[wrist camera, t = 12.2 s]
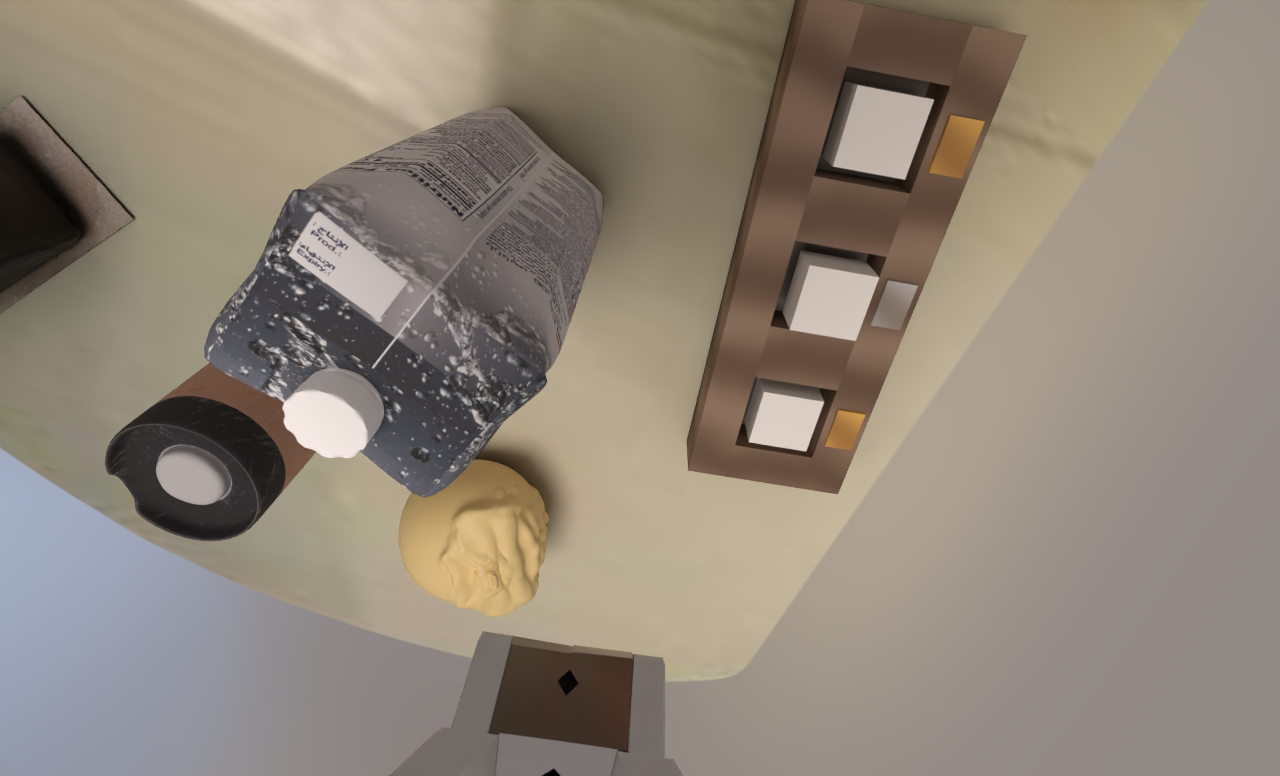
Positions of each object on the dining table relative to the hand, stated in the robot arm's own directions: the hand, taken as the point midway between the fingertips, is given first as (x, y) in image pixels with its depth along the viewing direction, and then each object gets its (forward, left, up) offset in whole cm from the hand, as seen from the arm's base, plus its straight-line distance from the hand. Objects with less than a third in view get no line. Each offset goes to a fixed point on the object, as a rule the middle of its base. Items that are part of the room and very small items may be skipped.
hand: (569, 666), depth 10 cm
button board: (+4, +13, -37) cm, 39 cm away
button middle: (+4, +13, -34) cm, 37 cm away
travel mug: (+14, -20, -37) cm, 45 cm away
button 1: (+14, +13, -36) cm, 40 cm away
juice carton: (+2, -8, -37) cm, 38 cm away
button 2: (-6, +13, -36) cm, 38 cm away
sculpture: (+29, -9, -37) cm, 48 cm away
